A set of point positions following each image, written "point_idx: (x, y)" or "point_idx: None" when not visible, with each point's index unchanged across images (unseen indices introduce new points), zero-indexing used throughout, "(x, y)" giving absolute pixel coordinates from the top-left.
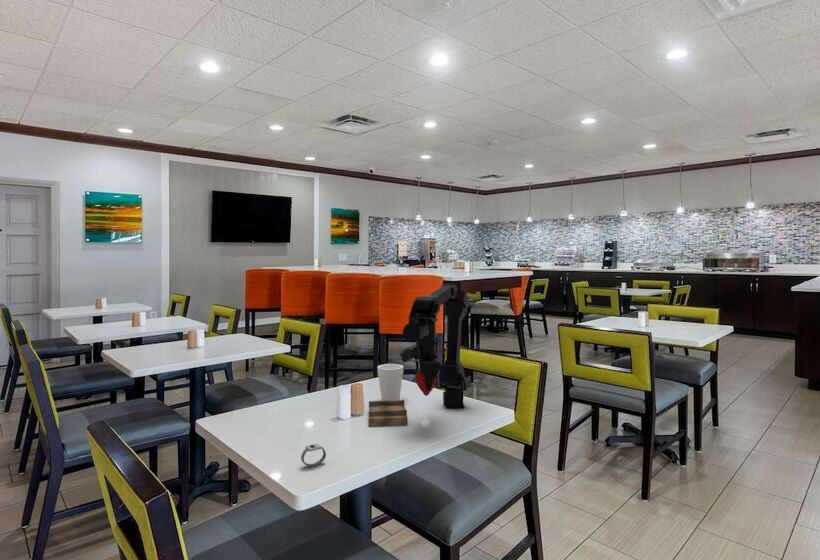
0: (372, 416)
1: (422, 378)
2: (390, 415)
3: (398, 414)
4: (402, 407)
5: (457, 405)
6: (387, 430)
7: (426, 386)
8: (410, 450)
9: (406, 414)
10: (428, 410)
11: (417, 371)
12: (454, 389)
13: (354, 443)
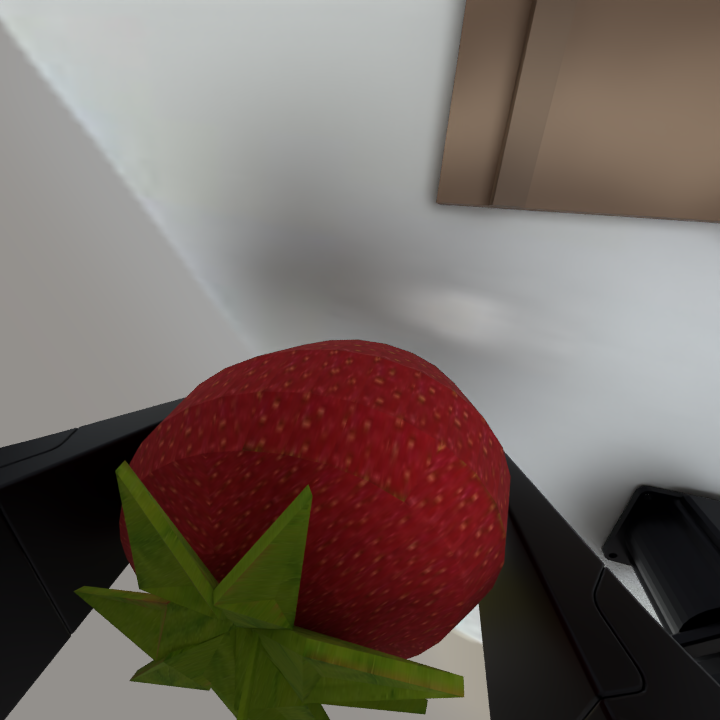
0: None
1: (151, 437)
2: (521, 50)
3: (506, 131)
4: (710, 196)
5: (627, 540)
6: (384, 45)
7: (174, 407)
8: (132, 169)
9: (490, 202)
10: (671, 391)
11: (131, 475)
12: (697, 631)
13: None
